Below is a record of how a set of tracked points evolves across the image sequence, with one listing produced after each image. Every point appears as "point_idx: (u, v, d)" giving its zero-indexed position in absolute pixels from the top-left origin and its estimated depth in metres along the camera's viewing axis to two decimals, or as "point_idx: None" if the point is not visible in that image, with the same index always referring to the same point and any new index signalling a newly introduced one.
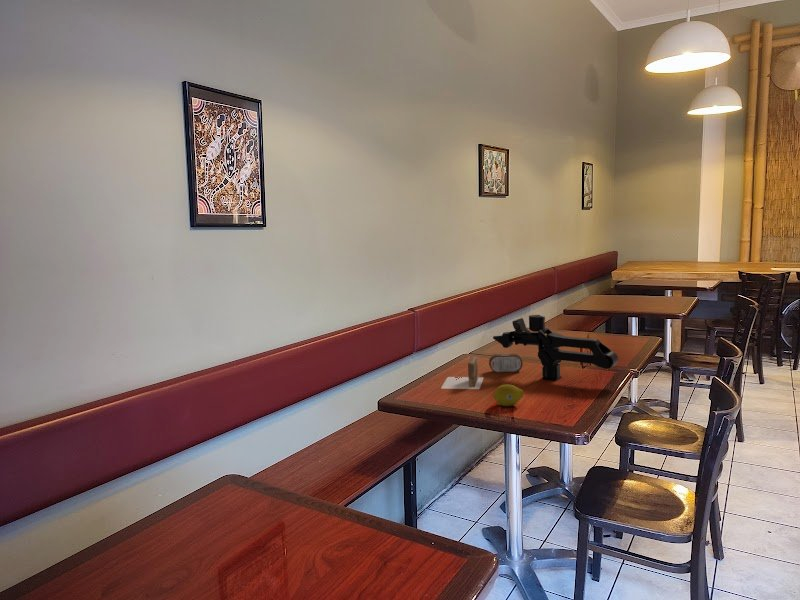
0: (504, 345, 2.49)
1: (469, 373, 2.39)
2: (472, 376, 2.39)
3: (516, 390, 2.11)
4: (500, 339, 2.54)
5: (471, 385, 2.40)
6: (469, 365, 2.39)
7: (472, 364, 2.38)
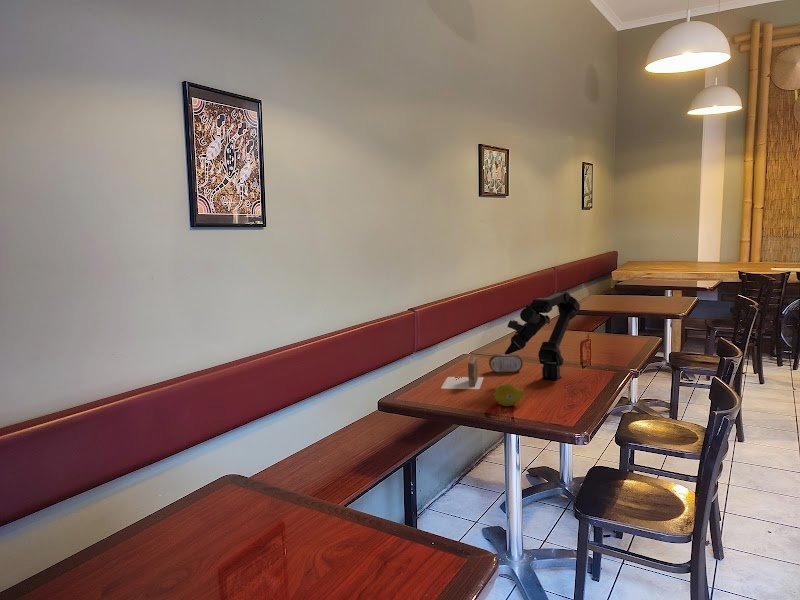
0: (521, 345, 2.30)
1: (469, 373, 2.39)
2: (472, 376, 2.39)
3: (516, 390, 2.11)
4: (512, 348, 2.35)
5: (471, 385, 2.40)
6: (469, 365, 2.39)
7: (472, 364, 2.38)
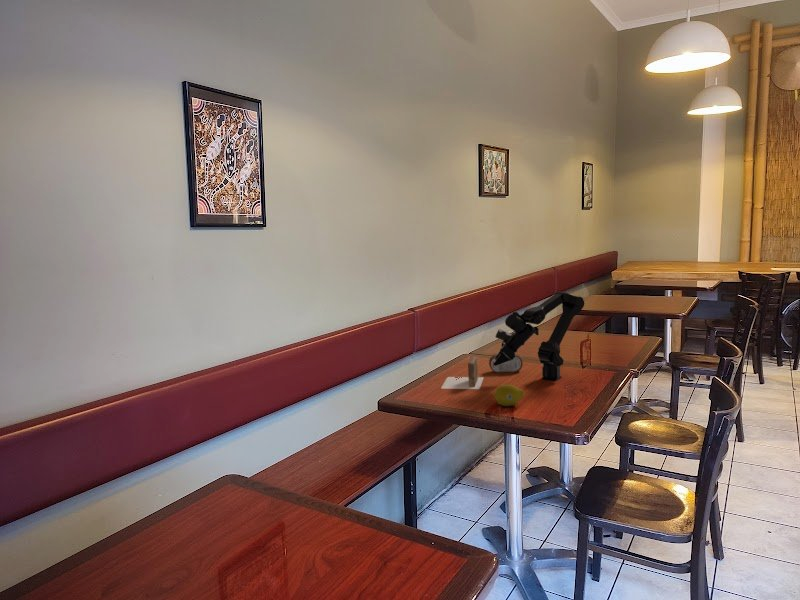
0: (511, 357, 2.30)
1: (469, 373, 2.39)
2: (472, 376, 2.39)
3: (516, 390, 2.11)
4: (501, 359, 2.35)
5: (471, 385, 2.40)
6: (469, 365, 2.39)
7: (472, 364, 2.38)
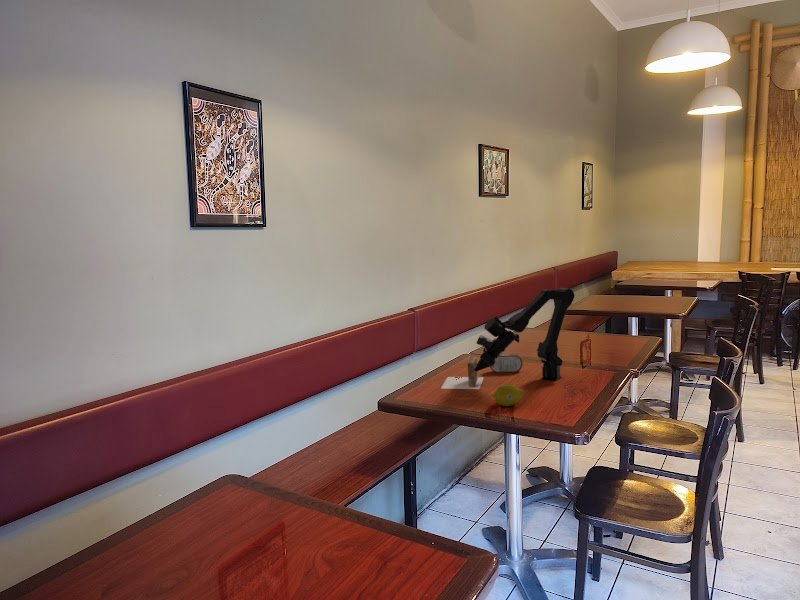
0: (491, 363, 2.33)
1: (469, 373, 2.39)
2: (472, 376, 2.39)
3: (516, 390, 2.11)
4: (482, 365, 2.37)
5: (471, 385, 2.40)
6: (469, 365, 2.39)
7: (472, 364, 2.38)
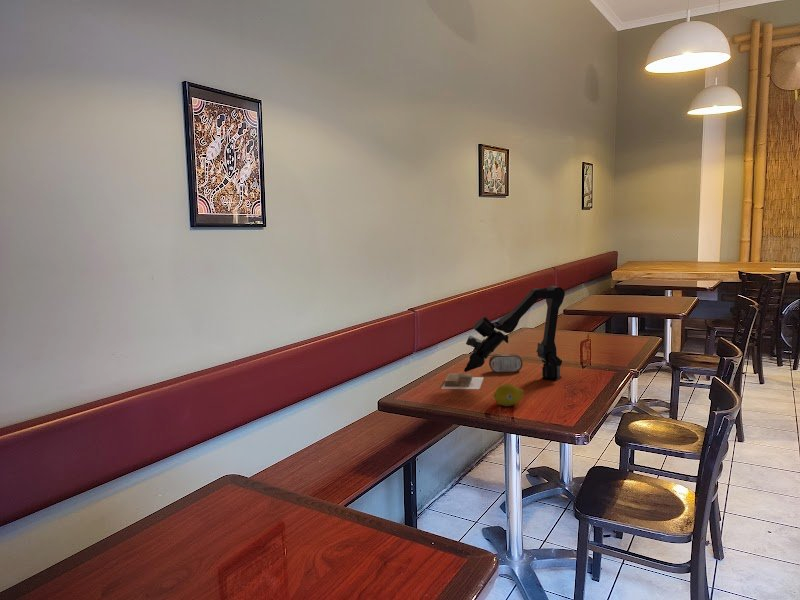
0: (480, 363, 2.34)
1: (454, 385, 2.41)
2: (457, 382, 2.41)
3: (516, 390, 2.11)
4: (471, 365, 2.39)
5: (467, 384, 2.40)
6: (446, 385, 2.42)
7: (445, 382, 2.42)
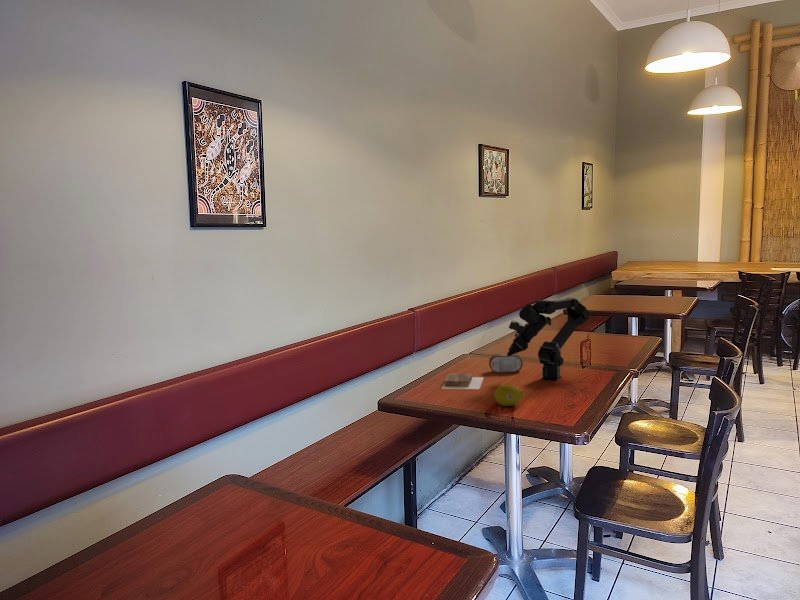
0: (524, 347, 2.33)
1: (454, 385, 2.41)
2: (457, 382, 2.41)
3: (516, 390, 2.11)
4: (515, 349, 2.38)
5: (467, 384, 2.40)
6: (446, 385, 2.42)
7: (445, 382, 2.42)
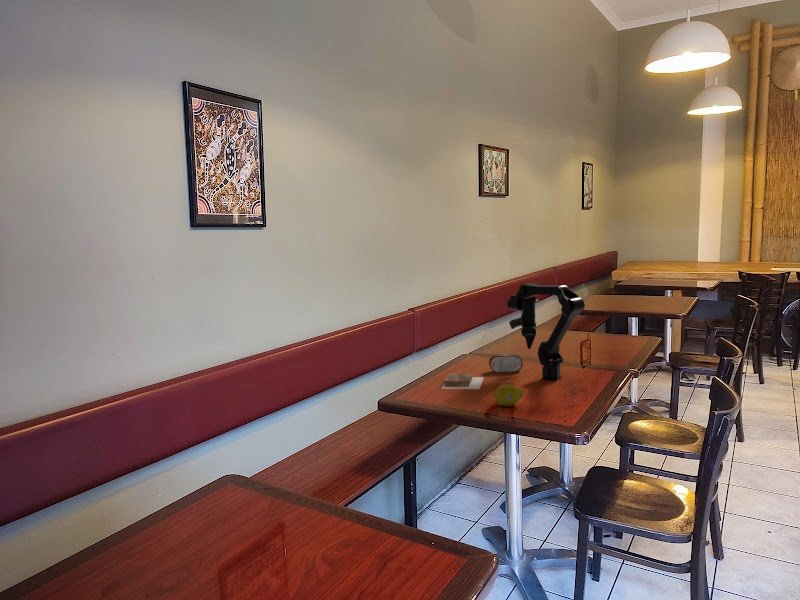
0: (533, 332, 2.46)
1: (454, 385, 2.41)
2: (457, 382, 2.41)
3: (516, 390, 2.11)
4: (529, 339, 2.50)
5: (467, 384, 2.40)
6: (446, 385, 2.42)
7: (445, 382, 2.42)
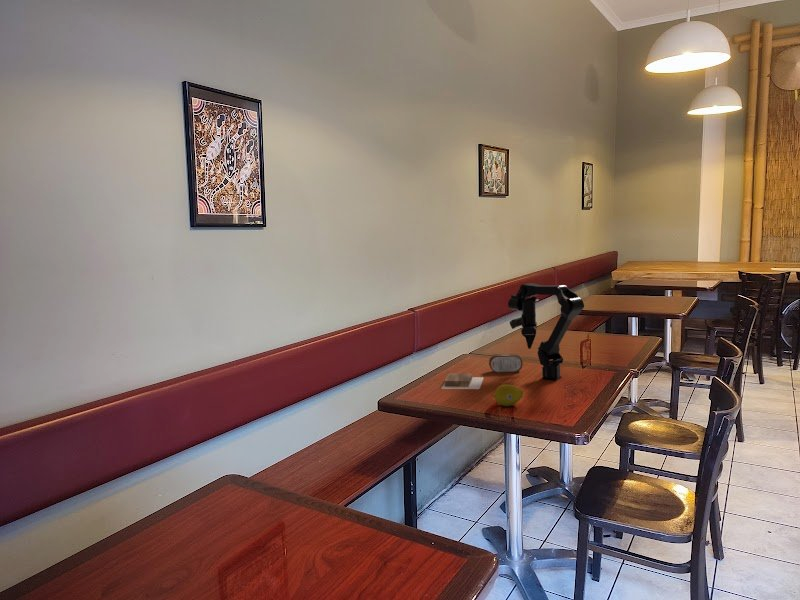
0: (533, 332, 2.46)
1: (454, 385, 2.41)
2: (457, 382, 2.41)
3: (516, 390, 2.11)
4: (529, 339, 2.50)
5: (467, 384, 2.40)
6: (446, 385, 2.42)
7: (445, 382, 2.42)
